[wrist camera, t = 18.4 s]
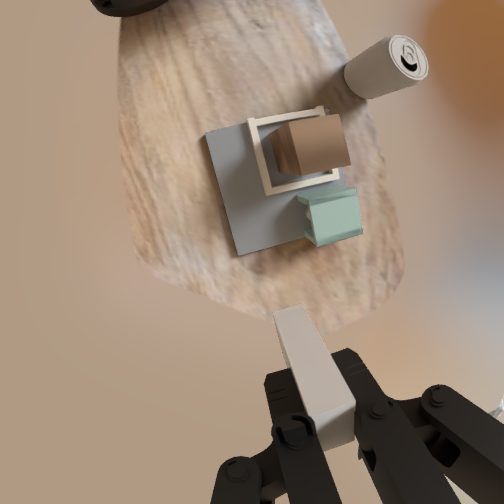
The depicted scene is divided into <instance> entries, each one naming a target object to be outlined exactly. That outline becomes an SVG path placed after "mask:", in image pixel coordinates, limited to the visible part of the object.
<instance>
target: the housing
mask: <svg viewBox="0 0 504 504" xmlns="http://www.w3.org/2000/svg"><path fill="white" fill-rule="evenodd" d="M297 198H298V201H299V202H302V203H304V204H306V205H308V210H309V215H310V220H311V225H312V229H309V230H305V231H304V232H305V237H307V238H308V239H309V240H310V241H311V242H312V243H313V244H315V245H316V246H317V247H319V246H323V245H326V244H330V243H333V242H337V241H340V240H344V239H347V238H351V237H354V236H358V235H361V234H363V231H362V223H361V216H360V209H359V203H358V196H357V190H356V188H353V187H348V186H344V185H336V186H332V187H327V188H323V189H319V190H314V191H310V192H306V193H302V194H298V195H297Z"/></svg>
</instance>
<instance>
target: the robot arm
mask: <svg viewBox="0 0 504 504" xmlns="http://www.w3.org/2000/svg"><path fill="white" fill-rule="evenodd" d="M167 1H168V0H91V2H92V4H93V5H94V6H95V7H96V9H97V10H98V11H99V12H101V13H103V14H105V15H108V16H113V17H125V16H132V15H136V14H140V13H143V12H146V11H149V10H151V9H154V8H156V7H158V6H160V5H161V4H163V3H165V2H167ZM272 314H273V318H274V321H275V325H276V329H277V333H278V337H279V340H280V345H281V349H282V353H283V356H284V359H285V362H286V365H287V369H284V370H281V371H277V372H273V373H270V374H267V375H266V379H265V382H264V387H265V392H266V396H267V401H268V405H269V410H270V414H271V418H272V423H273V426H272V430H271V435H272V437H273V441H272V443H271V445H270V446H269V447H268V448H267V449H265V450H264V451H262V452H261V453H259V454H257V455H255V456H253V457H251V458H249V457H243V456H239V457H233V458H231V459H228V460H226V461H225V462H224V463H223V464H222V465H221V466H220V468H219V471H218V473H217V478H216V482H215V486H214V490H213V494H212V498H211V503H210V504H275V499H276V498H277V497H279V496H281V495H283V494H285V493H287V494H288V498H289V502H290V504H342V502H341V499H340V497H339V494H338V491H337V488H336V486H335V483H334V480H333V477H332V475H331V472H330V470H329V467H328V464H327V461H326V458H325V455H324V453H323V452H324V451H327V450H329V449H332V448H335V447H338V446H341V445H344V444H346V443H349V442H352V441H354V440H355V436H356V438H357V440H358V443H359V449H358V458H359V460H360V459H361V458H362V459H363V461H364V463H365V465H366V467H367V469H368V472H369V474H370V476H371V478H372V480H373V483H374V485H375V487H376V489H377V491H378V494H379V496H380V498H381V500H382V503H383V504H461V503H460V501H459V499H458V497H457V496H456V494H455V492H454V491H453V489H452V487H451V486H450V484H449V482H448V481H447V479H446V477H445V476H447V477H448V478H449V479H450V480H451V481H452V482H453V483H455V484H456V485H457V486H458V487H459V488H460V489H462V490H463V491H464V492H465V493H466V494H468V495H469V496H470V497H471V498H472V499H474V500H475V501H476V502H477V503H478V504H504V424H502V423H501V422H499V421H498V420H497V419H495V418H494V417H492V416H491V415H489V414H488V413H486V412H485V411H483V410H482V409H481V408H479V407H478V406H476V405H475V404H473V403H472V402H470V401H469V400H468V399H466V398H465V397H463V396H462V395H460V394H459V393H458V392H456V391H455V390H453V389H452V388H450V387H448V386H446V385H439V384H438V385H434V386H431V387H429V388H428V389H426V390H425V392H424V393H423V394H422V397H419V398H414V399H409V400H402V401H401V400H394V399H393V398H390V397H388V396H386V395H385V394H384V392H383V391H382V390H381V388H380V386H379V385H378V383H377V382H376V380H375V379H374V378H373V376H372V374H371V373H370V371H369V370H368V369H367V367H366V366H365V364H364V363H363V361H362V360H361V358H360V357H359V355H358V354H357V353H356V352H354V351H352V350H351V349H349V348H346V349H343V350H341V351H338V352H335V353H332V354H330V353H329V351H328V349H327V348H326V346H325V344H324V342H323V340H322V339H321V337H320V335H319V333H318V332H317V330H316V328H315V326H314V325H313V323H312V321H311V319H310V317H309V316H308V314H307V312H306V310H305V309H304V307H303V305H302V304H299V305H296V306H292V307H289V308H285V309H282V310H279V311H275V312H272ZM444 475H445V476H444Z"/></svg>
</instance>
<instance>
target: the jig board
mask: <svg viewBox="0 0 504 504" xmlns="http://www.w3.org/2000/svg"><path fill="white" fill-rule="evenodd" d="M327 115H330V111H329V108H326V109H324V107H323V106H317V107H315V108H314V109H310V110H304V111H297V112H291V113H286V114H280V115H275V116H270V117H265V118H260V119H254V117H253V118H248V119H247V120H246V121H247V123H243V124H239V125H234V126H230V127H226V128H222V129H218V130H215V131H211V132H207V133H205V135H206V139H207V143H208V147H209V151H210V154H211V158H212V162H213V165H214V169H215V173H216V177H217V180H218V184H219V188H220V191H221V195H222V199H223V202H224V206H225V210H226V213H227V217H228V220H229V224H230V228H231V231H232V235H233V238H234V242H235V245H236V249H237V253H238V256H240V255H244V254H248V253H251V252H255V251H258V250H262V249H266V248H269V247H273V246H277V245H280V244H284V243H287V242H291V241H295V240H298V239H302V238H306V237H305V232H304V231H305V230H309V229H312V225H311V220H310V215H309V210H308V205H306V204H304V203H302V202H299V201H298V198H297V195H298V194H302V193H306V192H310V191H314V190H319V189H323V188H327V187H332V186H336V185H344V186H346V183H345V178H344V173H343V168H342V167H339V168H335V169H330V170H326V171H321V172H317V173H312V174H308V175H304V176H299V175H293V174H286V173H279V171H278V167H277V163H276V159H275V155H274V151H273V147H272V144H271V140H270V136H269V133H271V132H273V131H274V130H276V129H278V128H279V127H281V126H283V125H284V124H286V123H288V122H291V121H297V120H302V119H308V118H314V117H320V116H327Z"/></svg>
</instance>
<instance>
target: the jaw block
mask: <svg viewBox="0 0 504 504" xmlns="http://www.w3.org/2000/svg"><path fill="white" fill-rule="evenodd" d="M269 136H270V140H271V144H272V147H273V151H274V155H275V159H276V163H277V167H278V171H279V173H286V174H293V175H299V176H304V175H308V174H312V173H317V172H321V171H326V170H330V169H335V168H339V167H344V166H349V165H351V163H350V158H349V153H348V149H347V144H346V140H345V136H344V132H343V128H342V124H341V120H340V116H339V114H334V115H327V116H320V117H314V118H308V119H302V120H297V121H291V122H288V123H286V124H284V125H283V126H281V127H279V128H278V129H276V130H274V131H273V132H271V133H269Z"/></svg>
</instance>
